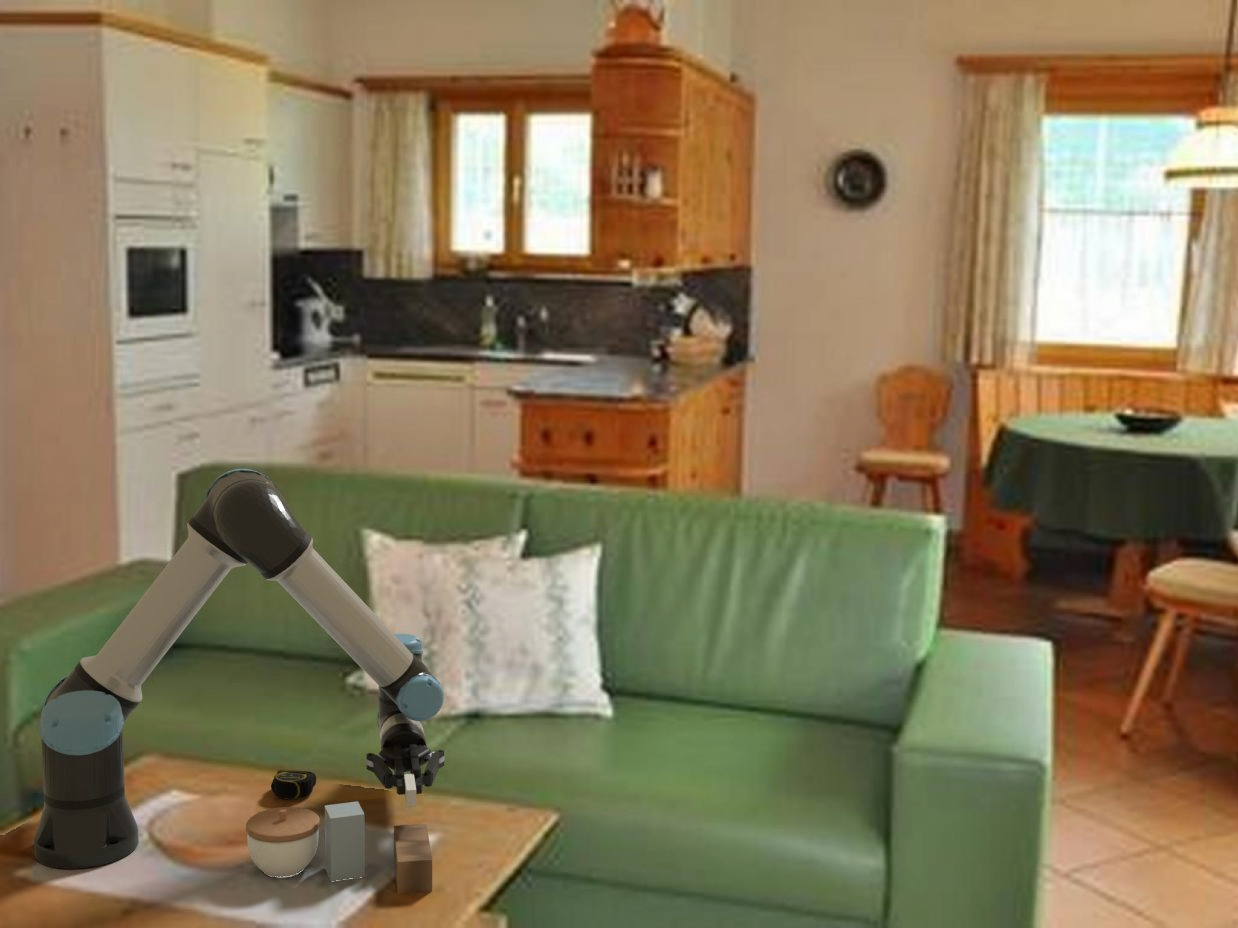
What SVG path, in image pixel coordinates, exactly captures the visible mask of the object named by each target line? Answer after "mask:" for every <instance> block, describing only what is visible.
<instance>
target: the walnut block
mask: <svg viewBox="0 0 1238 928" xmlns="http://www.w3.org/2000/svg"><path fill="white" fill-rule="evenodd" d="M427 825H428V824H427V823H420V824H419V823H417V824H416V823H415V824H399V825H393V860H394V861H395V862H394V869H395V881H396V889H397V894H399V895H400V894H411V893H412V894H413V893H414V894H415V893H426V892H427V893H428V892H433V856H432V850H431V849H432V848H431V844H430V843H431V841H430V837H429V831H428V826H427Z"/></svg>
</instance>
